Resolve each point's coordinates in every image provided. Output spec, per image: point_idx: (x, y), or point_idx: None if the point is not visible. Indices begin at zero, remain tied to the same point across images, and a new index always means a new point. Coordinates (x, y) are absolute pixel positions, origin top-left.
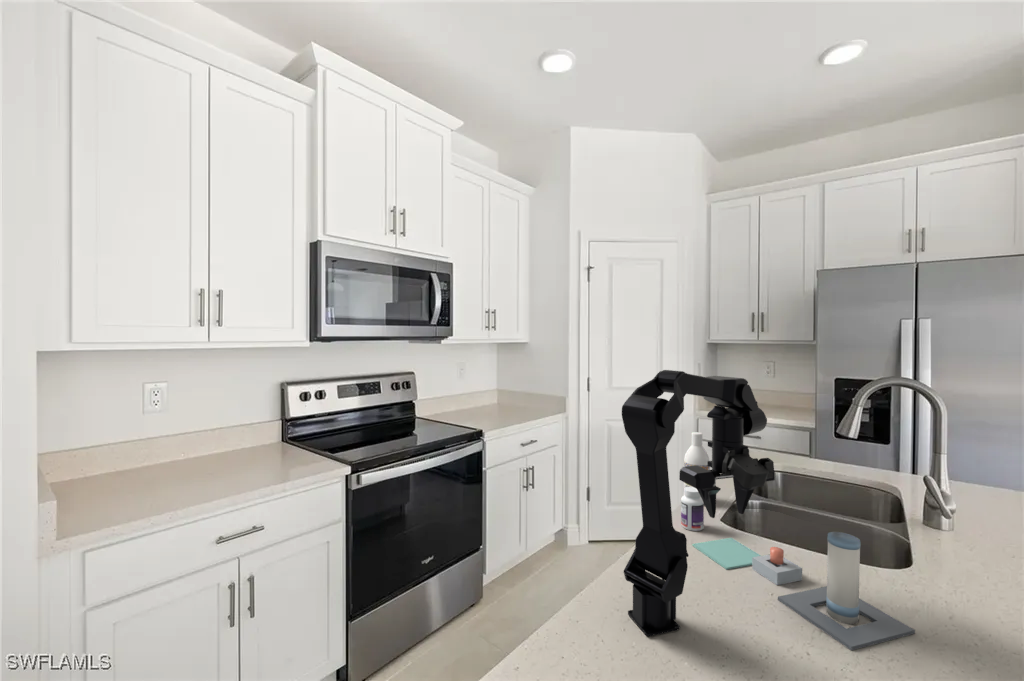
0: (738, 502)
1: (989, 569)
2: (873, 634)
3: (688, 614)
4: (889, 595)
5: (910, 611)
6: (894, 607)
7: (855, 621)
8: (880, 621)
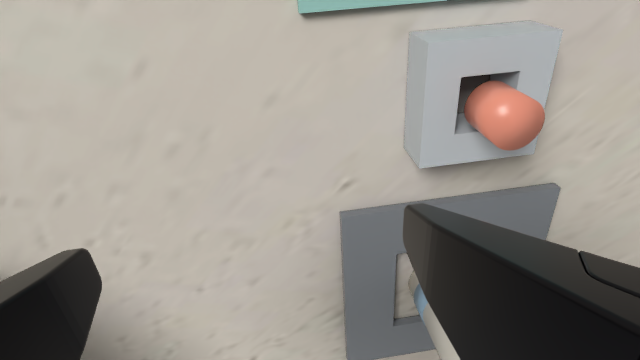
0: (446, 270)
1: None
2: (427, 341)
3: (6, 240)
4: (634, 227)
5: None
6: None
7: None
8: None
